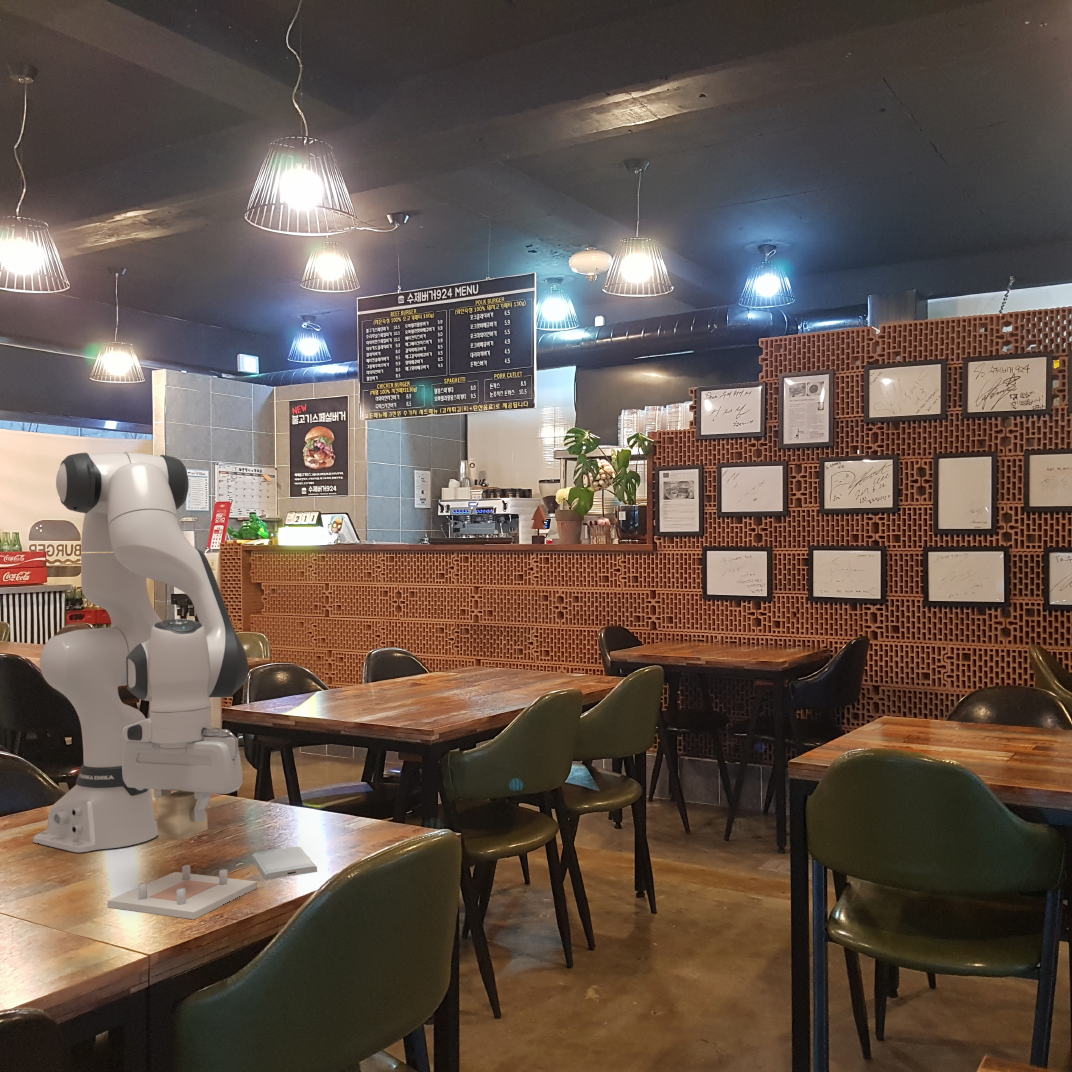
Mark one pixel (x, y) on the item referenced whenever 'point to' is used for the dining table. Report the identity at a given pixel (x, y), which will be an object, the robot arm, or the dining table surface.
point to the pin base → (183, 894)
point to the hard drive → (283, 863)
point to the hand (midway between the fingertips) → (183, 819)
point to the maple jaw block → (178, 816)
